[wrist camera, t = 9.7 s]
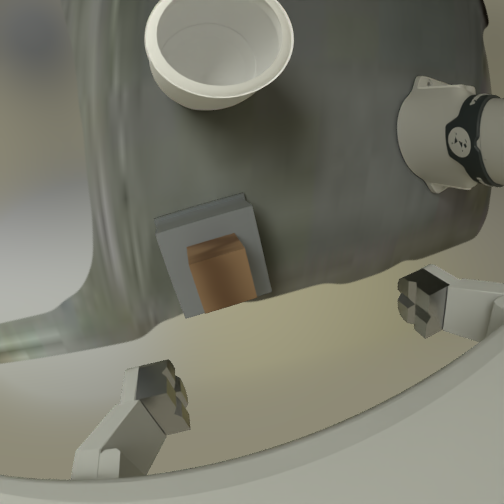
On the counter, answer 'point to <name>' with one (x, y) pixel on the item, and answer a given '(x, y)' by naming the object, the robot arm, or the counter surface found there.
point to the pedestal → (203, 229)
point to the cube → (221, 272)
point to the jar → (217, 49)
